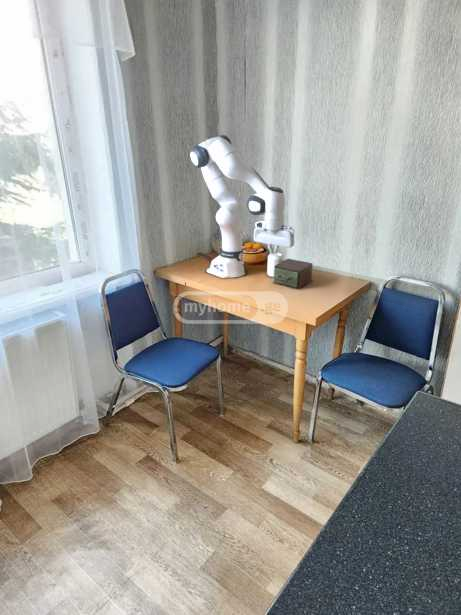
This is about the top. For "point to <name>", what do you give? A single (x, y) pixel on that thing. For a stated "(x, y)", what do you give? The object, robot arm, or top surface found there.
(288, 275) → the drawer
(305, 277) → the cabinet
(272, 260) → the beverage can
